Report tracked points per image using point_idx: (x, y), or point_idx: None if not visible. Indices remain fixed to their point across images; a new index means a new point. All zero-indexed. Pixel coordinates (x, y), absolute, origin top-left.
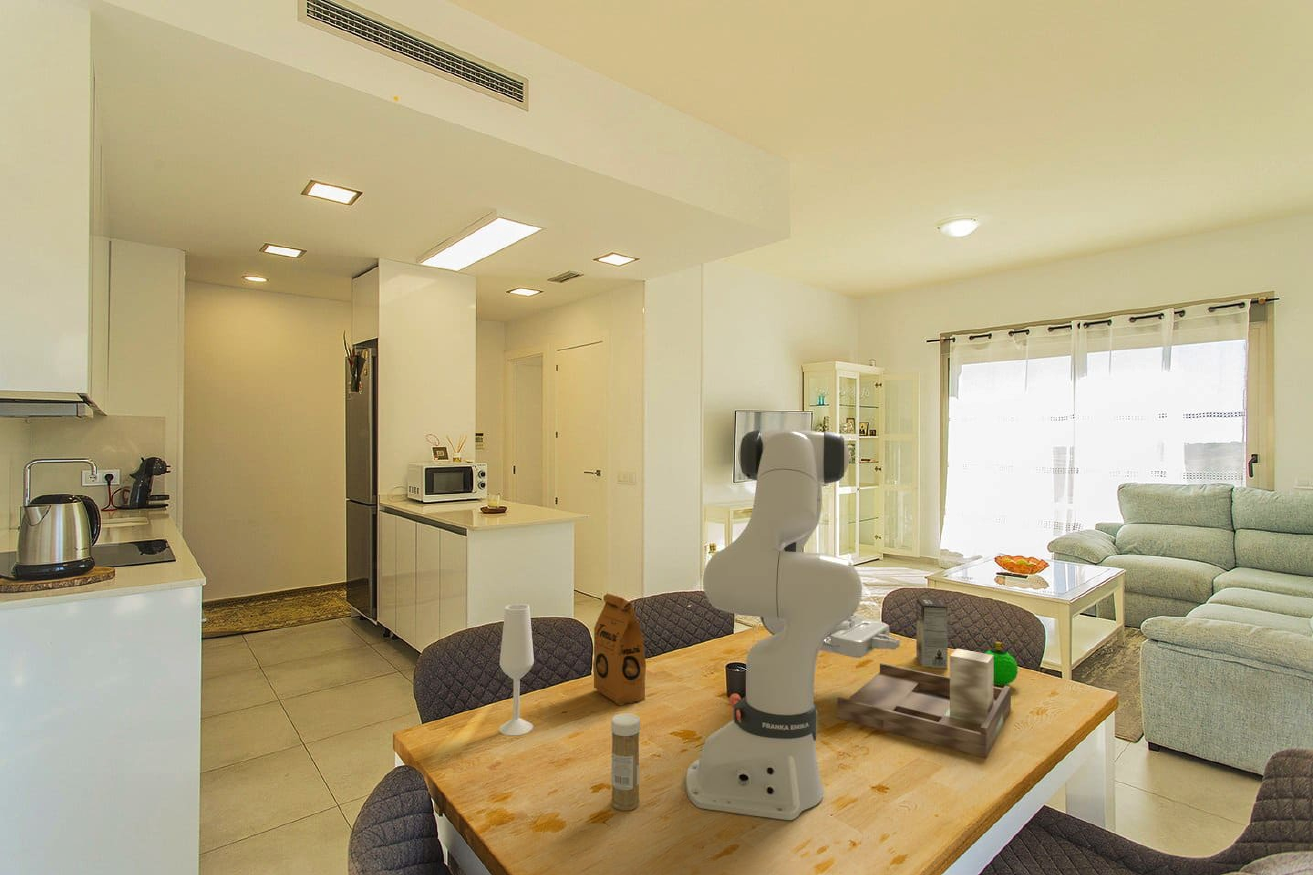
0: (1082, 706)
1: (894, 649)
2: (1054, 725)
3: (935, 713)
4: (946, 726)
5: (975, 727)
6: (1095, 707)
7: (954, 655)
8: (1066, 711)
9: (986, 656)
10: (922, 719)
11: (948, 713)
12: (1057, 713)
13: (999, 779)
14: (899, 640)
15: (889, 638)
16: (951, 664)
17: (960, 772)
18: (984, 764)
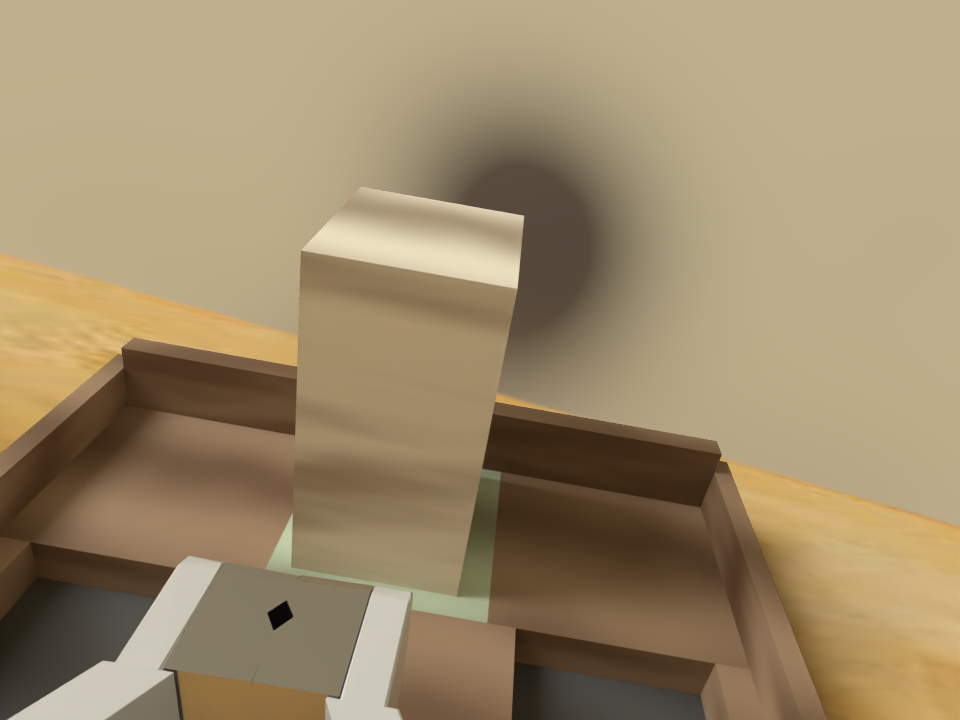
0: (55, 289)
1: (401, 679)
2: (269, 359)
3: (485, 663)
4: (767, 575)
5: (549, 513)
6: (60, 273)
7: (493, 276)
8: (116, 320)
9: (408, 203)
10: (806, 675)
11: (445, 603)
12: (144, 338)
13: (818, 508)
14: (194, 561)
15: (154, 700)
16: (505, 341)
17: (898, 600)
18: (756, 535)
